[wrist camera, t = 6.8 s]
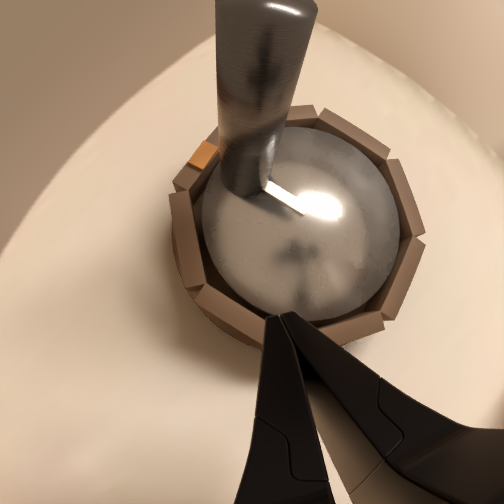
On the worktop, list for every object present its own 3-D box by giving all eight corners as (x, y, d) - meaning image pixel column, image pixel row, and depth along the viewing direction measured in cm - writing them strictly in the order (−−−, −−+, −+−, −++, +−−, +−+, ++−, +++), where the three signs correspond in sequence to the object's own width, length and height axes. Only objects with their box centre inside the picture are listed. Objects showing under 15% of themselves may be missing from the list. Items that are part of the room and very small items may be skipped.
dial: (333, 356, 18) (508, 402, 4) (165, 250, 19) (55, 113, 5) (408, 204, 21) (539, 103, 7) (269, 115, 22) (303, -50, 8)
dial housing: (423, 313, 21) (454, 310, 17) (203, 378, 19) (196, 392, 15) (359, 122, 24) (376, 95, 20) (160, 149, 22) (150, 120, 18)
